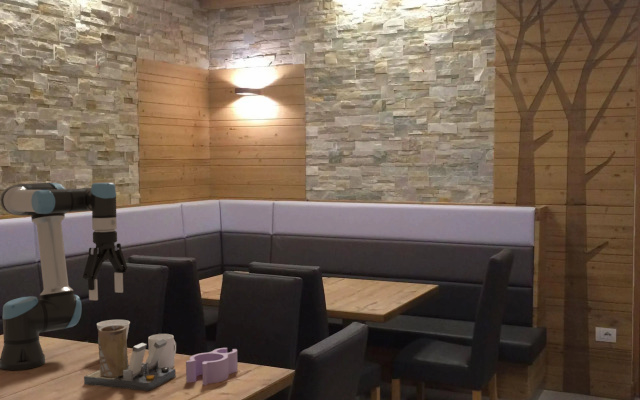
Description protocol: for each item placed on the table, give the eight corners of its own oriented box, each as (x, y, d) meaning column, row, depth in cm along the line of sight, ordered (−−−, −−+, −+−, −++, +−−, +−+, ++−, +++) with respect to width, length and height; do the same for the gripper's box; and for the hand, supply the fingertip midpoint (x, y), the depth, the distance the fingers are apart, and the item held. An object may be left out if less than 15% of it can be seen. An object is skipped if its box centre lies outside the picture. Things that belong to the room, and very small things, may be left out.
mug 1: (114, 378, 232) (113, 331, 232) (84, 374, 238) (82, 328, 237) (133, 371, 240) (132, 325, 240) (104, 366, 246) (102, 322, 245)
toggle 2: (141, 368, 241) (154, 342, 239) (149, 364, 246) (163, 338, 244) (146, 372, 241) (159, 345, 239) (154, 368, 246) (167, 342, 243)
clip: (216, 366, 256) (216, 346, 256) (246, 370, 250) (246, 350, 250) (179, 381, 238) (179, 360, 238) (211, 386, 233) (210, 365, 232)
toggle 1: (126, 377, 233) (132, 346, 231) (134, 373, 238) (141, 342, 236) (131, 379, 232) (138, 348, 231) (140, 375, 237) (147, 344, 235)
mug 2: (185, 363, 259) (185, 333, 259) (163, 372, 249) (162, 340, 248) (167, 360, 264) (166, 330, 263) (143, 368, 253) (142, 338, 253)
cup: (91, 357, 270) (90, 323, 269) (118, 350, 279) (117, 318, 278) (109, 362, 262) (108, 328, 261) (137, 355, 271) (136, 322, 270)
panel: (84, 384, 237) (83, 367, 236) (114, 370, 252) (114, 354, 252) (148, 390, 229) (148, 373, 228) (176, 375, 244) (176, 359, 244)
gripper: (90, 234, 224) (92, 304, 225) (136, 227, 247) (138, 289, 248) (69, 234, 226) (71, 302, 227) (117, 226, 250) (119, 288, 251)
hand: (106, 296), depth 238 cm, fingers open, 13 cm apart
